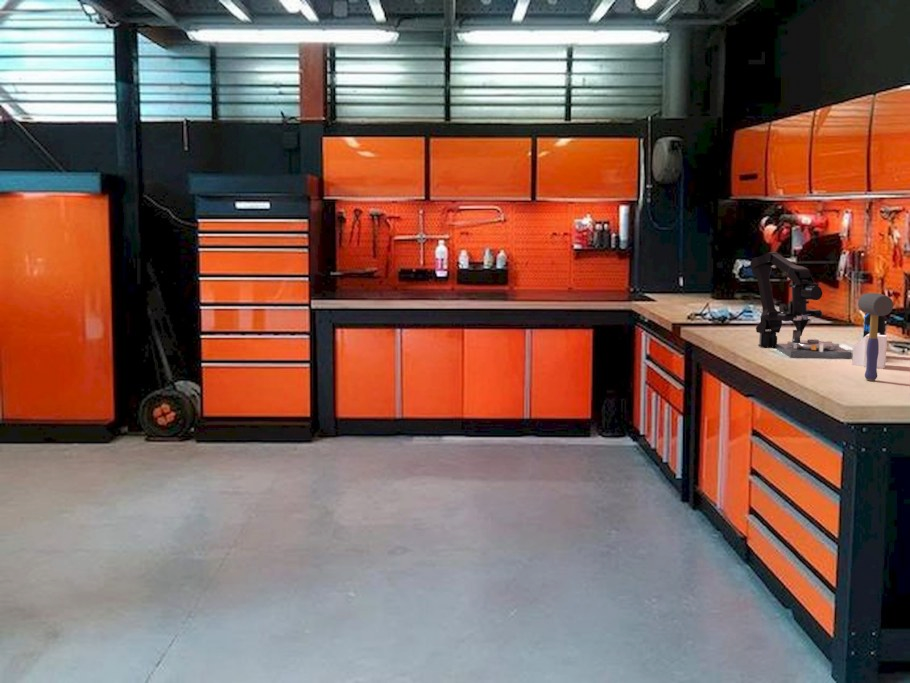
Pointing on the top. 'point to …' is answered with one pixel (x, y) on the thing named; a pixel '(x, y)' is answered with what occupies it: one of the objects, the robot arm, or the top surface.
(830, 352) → the index base
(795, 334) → the sprocket
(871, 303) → the rubber mallet
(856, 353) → the corner bracket
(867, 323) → the aerosol can
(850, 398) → the top surface
